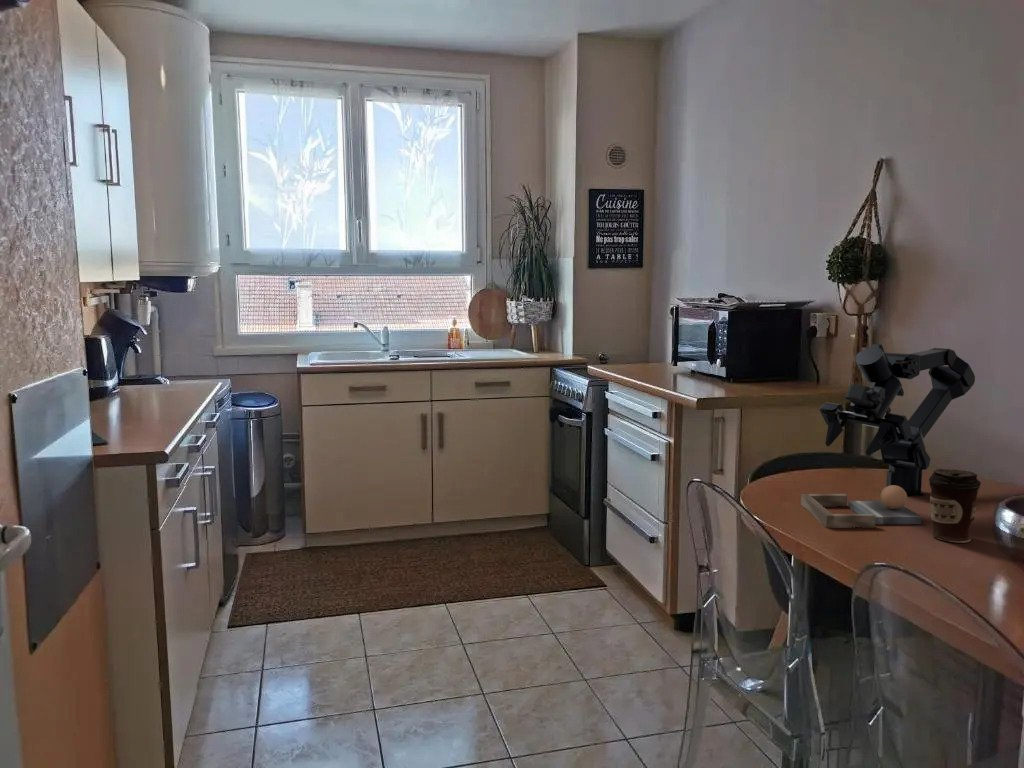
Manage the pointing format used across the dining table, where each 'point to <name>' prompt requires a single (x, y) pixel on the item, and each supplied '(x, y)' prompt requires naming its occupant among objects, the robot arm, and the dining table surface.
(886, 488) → the ball
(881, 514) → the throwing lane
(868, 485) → the dining table surface
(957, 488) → the coffee cup
